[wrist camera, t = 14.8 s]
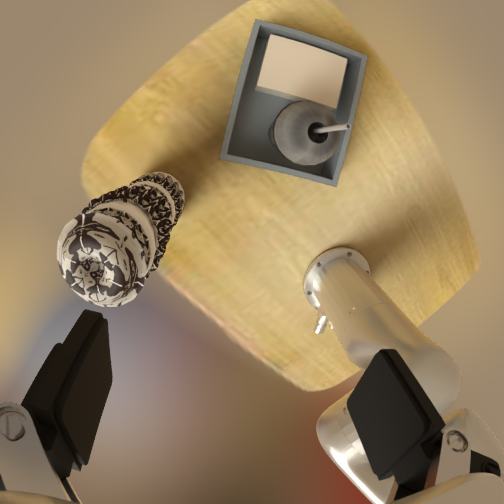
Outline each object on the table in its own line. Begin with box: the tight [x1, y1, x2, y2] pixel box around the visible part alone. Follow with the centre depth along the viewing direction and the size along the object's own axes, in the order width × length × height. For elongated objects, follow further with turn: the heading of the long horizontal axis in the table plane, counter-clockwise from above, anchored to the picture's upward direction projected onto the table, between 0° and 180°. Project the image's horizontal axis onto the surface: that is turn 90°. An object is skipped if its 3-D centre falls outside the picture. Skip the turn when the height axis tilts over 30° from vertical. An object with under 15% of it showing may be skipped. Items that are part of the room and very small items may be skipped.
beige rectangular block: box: [254, 34, 347, 110], centre depth 34 cm, size 8×11×4 cm
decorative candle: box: [57, 172, 185, 307], centre depth 31 cm, size 9×9×25 cm
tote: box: [219, 19, 368, 187], centre depth 36 cm, size 20×16×6 cm
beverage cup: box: [268, 101, 351, 166], centre depth 30 cm, size 7×7×20 cm
